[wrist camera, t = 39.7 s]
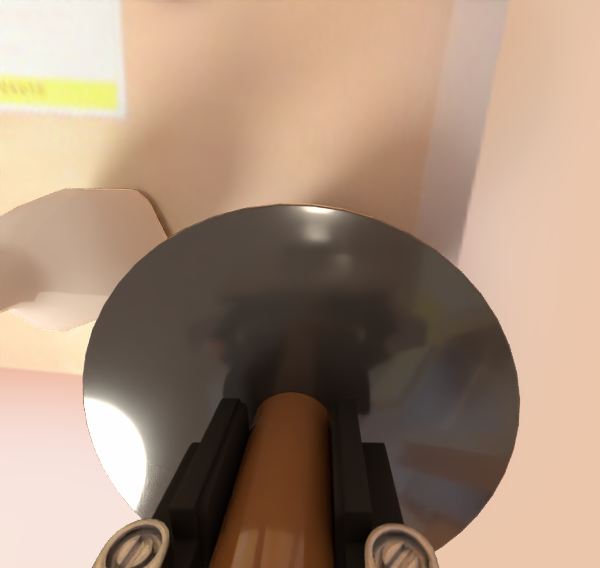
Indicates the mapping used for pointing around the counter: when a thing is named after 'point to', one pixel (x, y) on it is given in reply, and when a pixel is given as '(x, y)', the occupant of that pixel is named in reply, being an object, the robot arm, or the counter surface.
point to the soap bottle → (72, 253)
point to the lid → (302, 374)
